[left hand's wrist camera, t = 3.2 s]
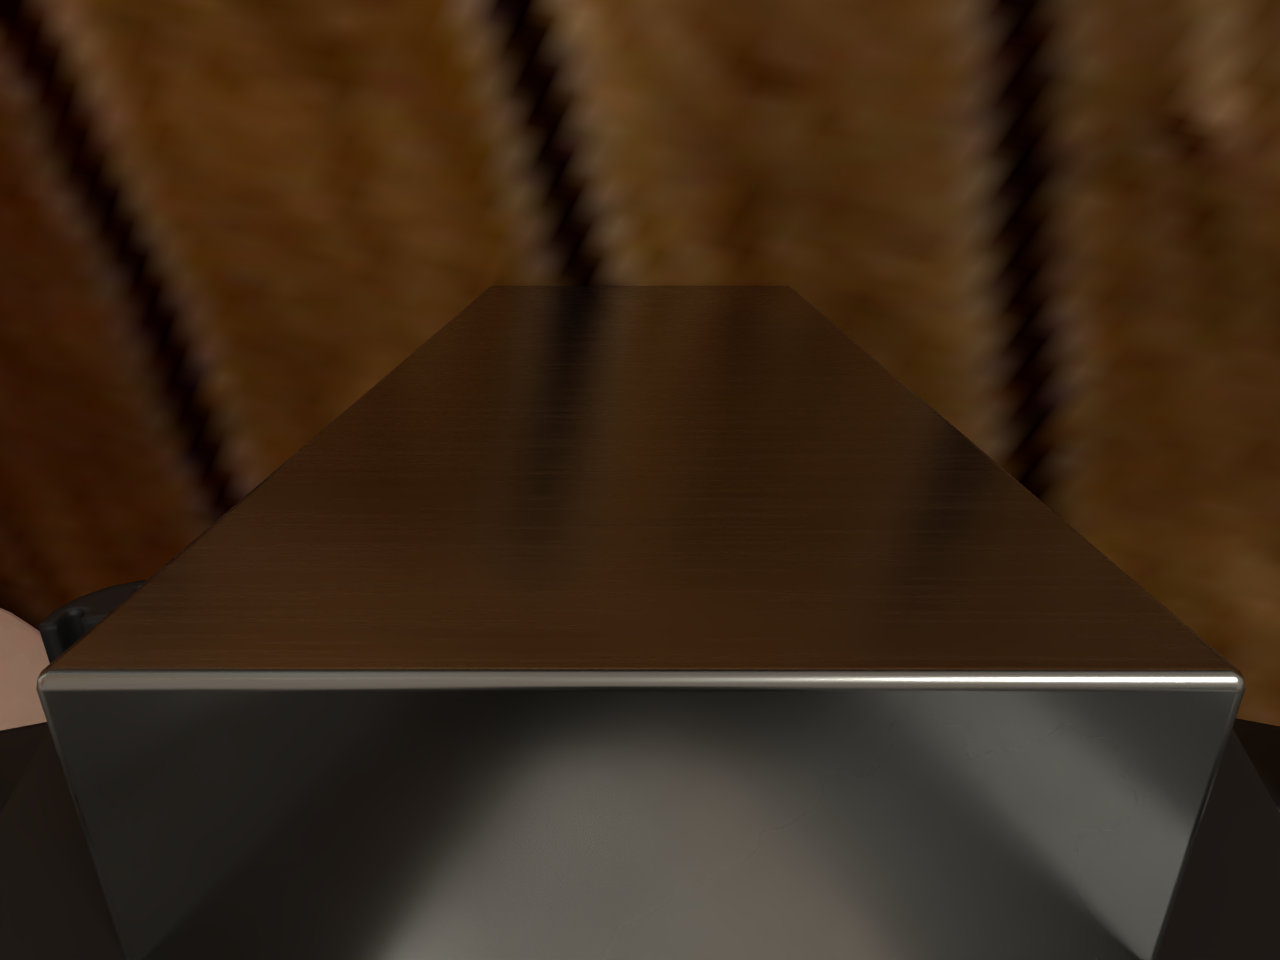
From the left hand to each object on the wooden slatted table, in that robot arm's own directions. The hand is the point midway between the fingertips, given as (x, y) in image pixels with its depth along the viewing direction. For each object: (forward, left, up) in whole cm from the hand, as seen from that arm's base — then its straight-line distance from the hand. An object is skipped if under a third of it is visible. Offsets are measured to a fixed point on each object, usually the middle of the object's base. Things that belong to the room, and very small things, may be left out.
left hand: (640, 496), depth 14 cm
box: (-10, +3, -3) cm, 11 cm away
